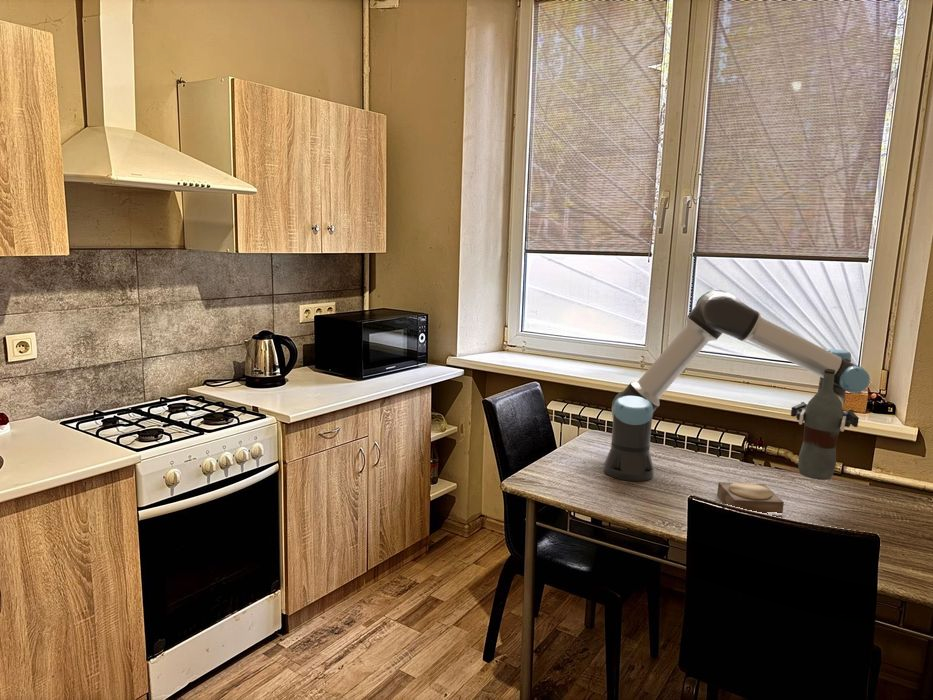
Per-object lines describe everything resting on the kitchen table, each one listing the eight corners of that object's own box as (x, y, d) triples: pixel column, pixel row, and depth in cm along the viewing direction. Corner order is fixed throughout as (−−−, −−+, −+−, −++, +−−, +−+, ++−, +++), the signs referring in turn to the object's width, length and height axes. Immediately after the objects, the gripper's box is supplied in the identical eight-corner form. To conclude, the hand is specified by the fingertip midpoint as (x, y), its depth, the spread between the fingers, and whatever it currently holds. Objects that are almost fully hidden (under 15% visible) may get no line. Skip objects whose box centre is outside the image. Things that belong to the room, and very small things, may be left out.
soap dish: (717, 495, 191) (718, 480, 190) (762, 497, 190) (764, 482, 190) (733, 514, 178) (735, 497, 177) (782, 516, 178) (784, 500, 177)
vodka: (808, 480, 179) (823, 373, 174) (789, 468, 188) (803, 365, 183) (841, 481, 180) (857, 373, 174) (821, 468, 189) (835, 366, 183)
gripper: (868, 425, 191) (866, 444, 172) (785, 411, 203) (775, 428, 184) (872, 400, 190) (871, 416, 171) (789, 388, 201) (778, 402, 182)
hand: (821, 422), depth 177 cm, fingers closed on vodka, 9 cm apart
